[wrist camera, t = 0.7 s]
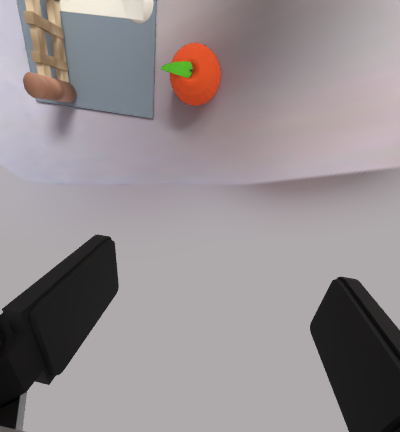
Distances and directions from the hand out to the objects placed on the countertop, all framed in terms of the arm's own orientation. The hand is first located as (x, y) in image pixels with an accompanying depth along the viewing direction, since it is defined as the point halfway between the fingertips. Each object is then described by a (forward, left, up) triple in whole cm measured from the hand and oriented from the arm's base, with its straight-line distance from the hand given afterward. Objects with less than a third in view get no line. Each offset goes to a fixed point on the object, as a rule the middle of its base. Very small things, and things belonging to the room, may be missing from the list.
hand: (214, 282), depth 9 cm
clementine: (-12, -7, -29) cm, 32 cm away
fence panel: (-12, -28, -28) cm, 41 cm away
